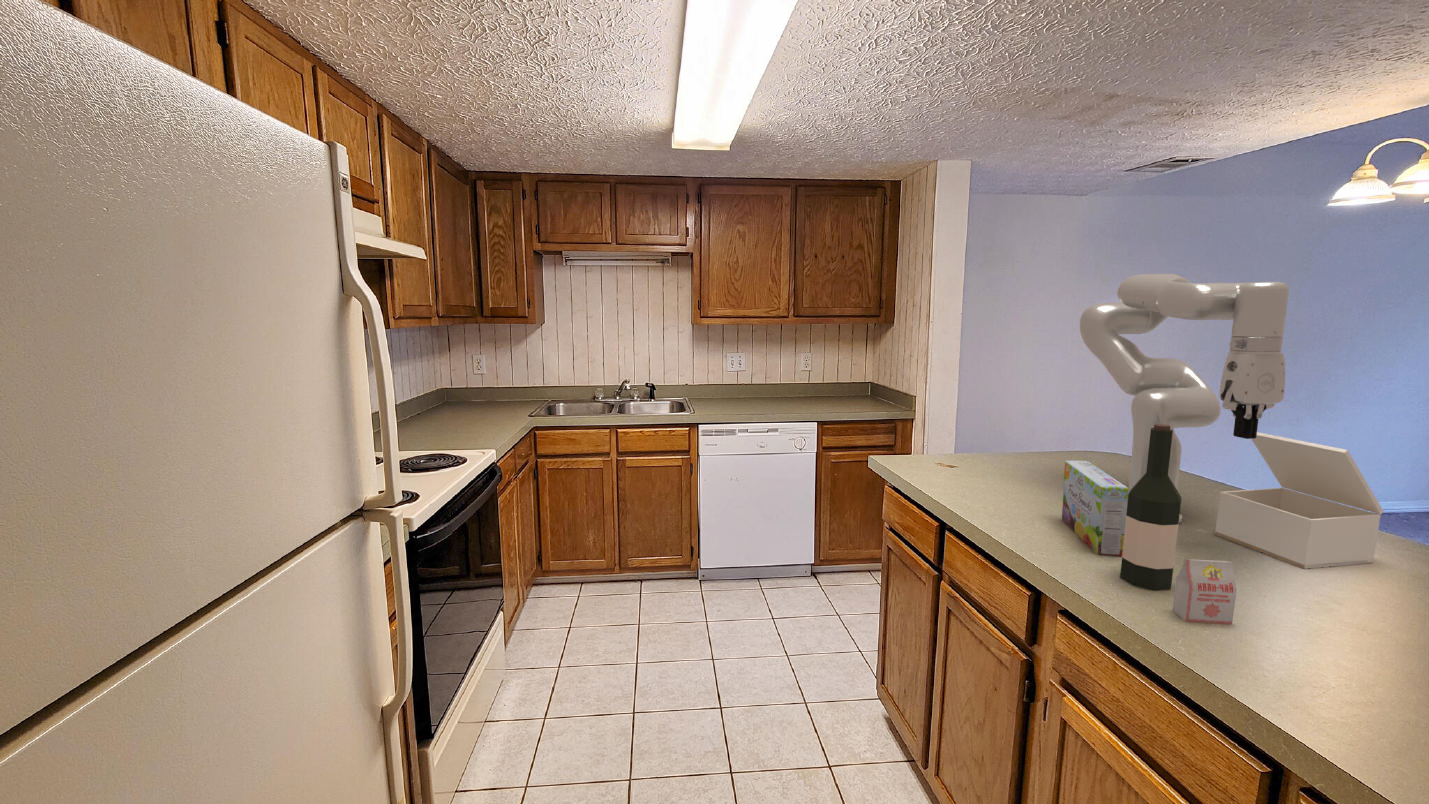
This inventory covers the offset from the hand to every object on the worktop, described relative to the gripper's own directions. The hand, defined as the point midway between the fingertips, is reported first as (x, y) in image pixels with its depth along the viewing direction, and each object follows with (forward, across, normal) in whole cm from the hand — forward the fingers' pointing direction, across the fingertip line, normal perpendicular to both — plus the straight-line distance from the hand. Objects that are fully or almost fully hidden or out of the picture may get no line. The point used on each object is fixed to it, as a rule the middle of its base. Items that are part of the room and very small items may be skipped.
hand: (1244, 437), depth 119 cm
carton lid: (+8, +18, +1) cm, 19 cm away
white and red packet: (+25, -29, -20) cm, 44 cm away
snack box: (+25, -21, +14) cm, 35 cm away
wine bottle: (+25, -27, -7) cm, 38 cm away
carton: (+25, +15, +1) cm, 29 cm away
